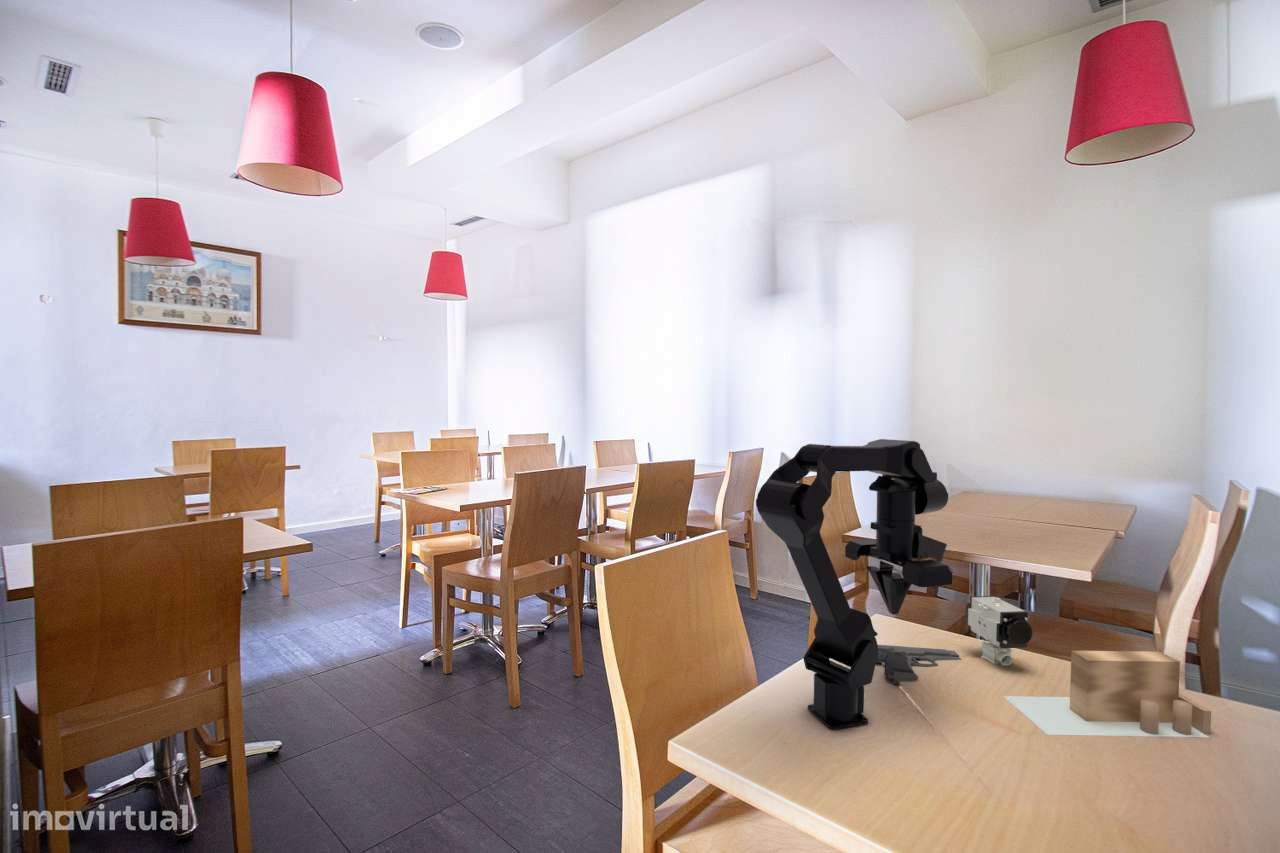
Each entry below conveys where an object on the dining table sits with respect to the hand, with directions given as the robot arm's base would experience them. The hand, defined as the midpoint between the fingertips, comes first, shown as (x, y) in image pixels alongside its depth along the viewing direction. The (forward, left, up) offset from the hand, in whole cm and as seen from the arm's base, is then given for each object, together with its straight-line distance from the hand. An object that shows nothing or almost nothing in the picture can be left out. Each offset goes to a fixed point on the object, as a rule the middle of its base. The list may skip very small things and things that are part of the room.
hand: (893, 613), depth 98 cm
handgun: (+11, +5, -14) cm, 18 cm away
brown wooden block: (+27, -17, -12) cm, 34 cm away
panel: (+24, -16, -13) cm, 31 cm away
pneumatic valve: (+25, +4, -13) cm, 29 cm away
